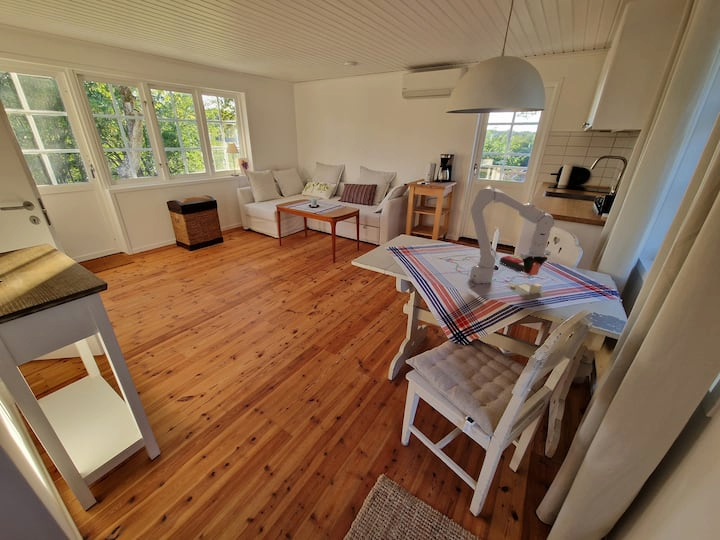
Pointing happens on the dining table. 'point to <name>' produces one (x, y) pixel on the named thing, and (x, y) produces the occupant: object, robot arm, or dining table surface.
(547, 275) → the dining table surface
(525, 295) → the panel
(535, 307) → the dining table surface
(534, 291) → the switch handle
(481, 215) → the robot arm
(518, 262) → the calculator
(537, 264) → the block
